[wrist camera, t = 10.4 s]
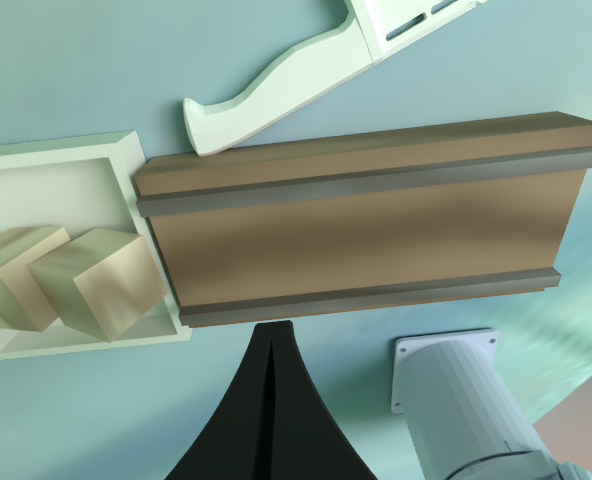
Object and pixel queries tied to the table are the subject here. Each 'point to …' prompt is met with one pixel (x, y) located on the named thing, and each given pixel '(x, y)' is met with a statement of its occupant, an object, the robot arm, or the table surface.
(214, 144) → the knife
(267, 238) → the slot block
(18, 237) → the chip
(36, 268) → the beige cube
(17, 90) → the table surface
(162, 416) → the table surface
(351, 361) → the table surface
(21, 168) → the tray
